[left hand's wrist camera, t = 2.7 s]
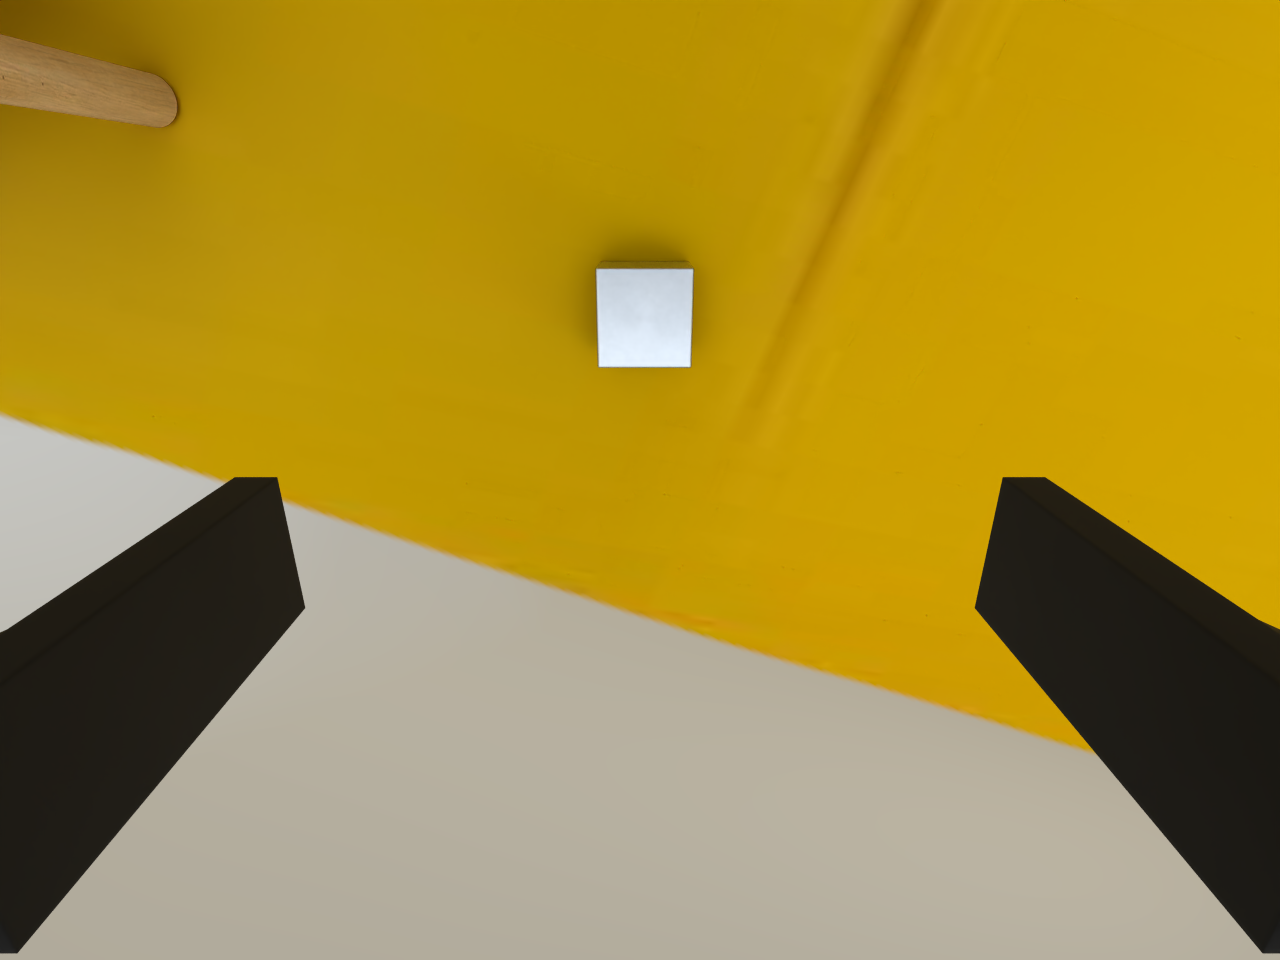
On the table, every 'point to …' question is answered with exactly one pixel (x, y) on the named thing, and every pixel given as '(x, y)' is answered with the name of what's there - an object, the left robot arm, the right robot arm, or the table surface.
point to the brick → (644, 314)
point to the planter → (81, 85)
